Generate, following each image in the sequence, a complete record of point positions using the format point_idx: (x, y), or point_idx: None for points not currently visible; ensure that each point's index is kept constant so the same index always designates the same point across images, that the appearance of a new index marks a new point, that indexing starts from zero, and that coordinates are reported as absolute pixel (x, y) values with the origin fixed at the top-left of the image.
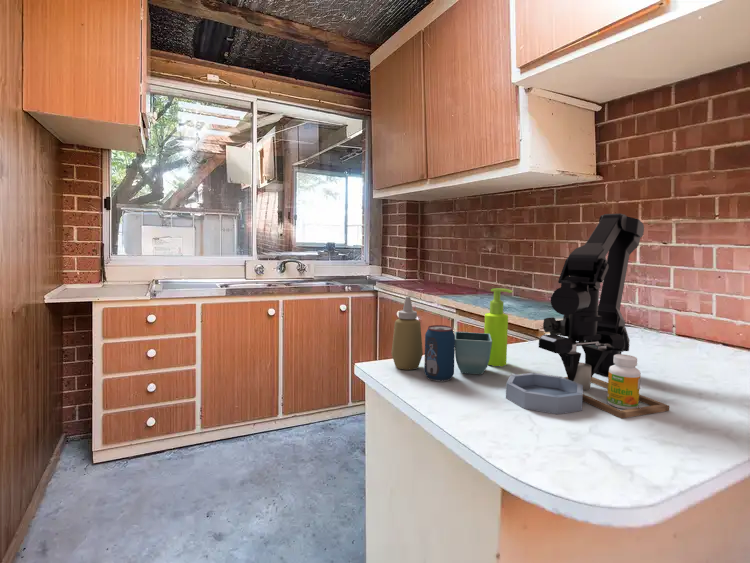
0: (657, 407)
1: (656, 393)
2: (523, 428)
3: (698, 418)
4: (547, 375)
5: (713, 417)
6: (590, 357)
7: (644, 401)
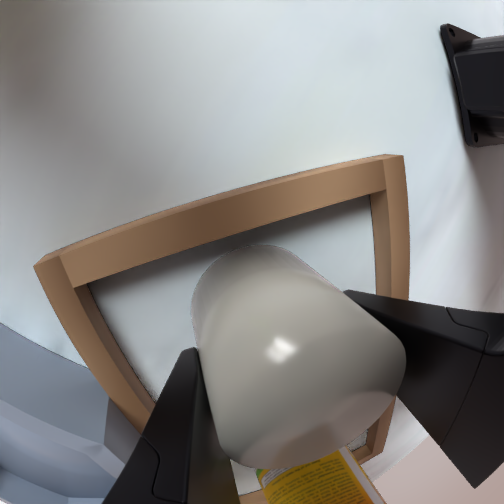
0: None
1: None
2: None
3: (387, 452)
4: (18, 418)
5: (413, 437)
6: (456, 399)
7: (371, 425)
